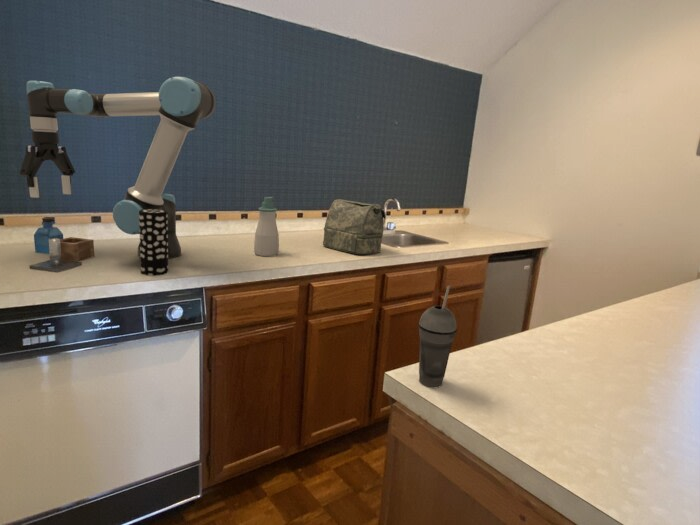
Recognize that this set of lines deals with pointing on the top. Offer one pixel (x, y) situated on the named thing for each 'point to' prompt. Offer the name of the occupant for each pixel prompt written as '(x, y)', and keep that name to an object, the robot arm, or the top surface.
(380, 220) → the lunch bag
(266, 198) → the soap bottle
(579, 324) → the top surface
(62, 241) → the open wooden crate
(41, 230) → the perfume bottle
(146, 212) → the white-spotted black cylinder
